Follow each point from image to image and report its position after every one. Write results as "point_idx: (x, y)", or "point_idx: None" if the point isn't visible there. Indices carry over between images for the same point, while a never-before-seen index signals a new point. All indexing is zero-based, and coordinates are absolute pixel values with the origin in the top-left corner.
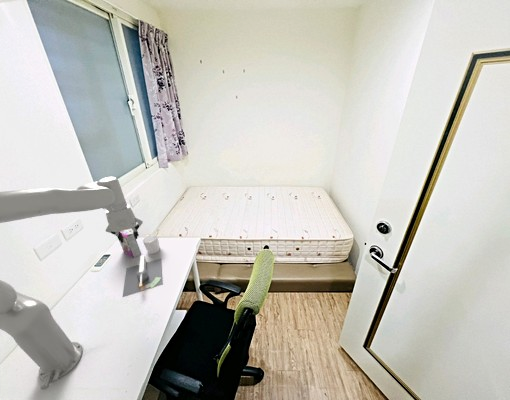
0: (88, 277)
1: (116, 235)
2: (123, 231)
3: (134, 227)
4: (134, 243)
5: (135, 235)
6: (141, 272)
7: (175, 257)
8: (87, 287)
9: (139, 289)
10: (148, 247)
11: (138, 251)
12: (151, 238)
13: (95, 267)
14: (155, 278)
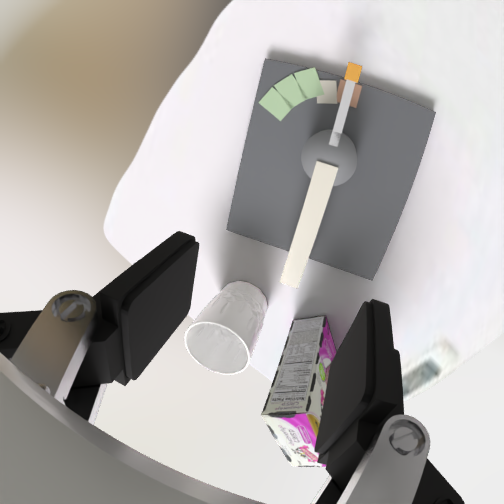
0: (477, 333)
1: (414, 433)
2: (299, 448)
3: (20, 356)
4: (289, 368)
5: (147, 259)
6: (328, 159)
7: (178, 201)
8: (500, 286)
9: (364, 98)
10: (246, 314)
11: (295, 333)
12: (219, 353)
13: (442, 365)
14: (283, 113)
